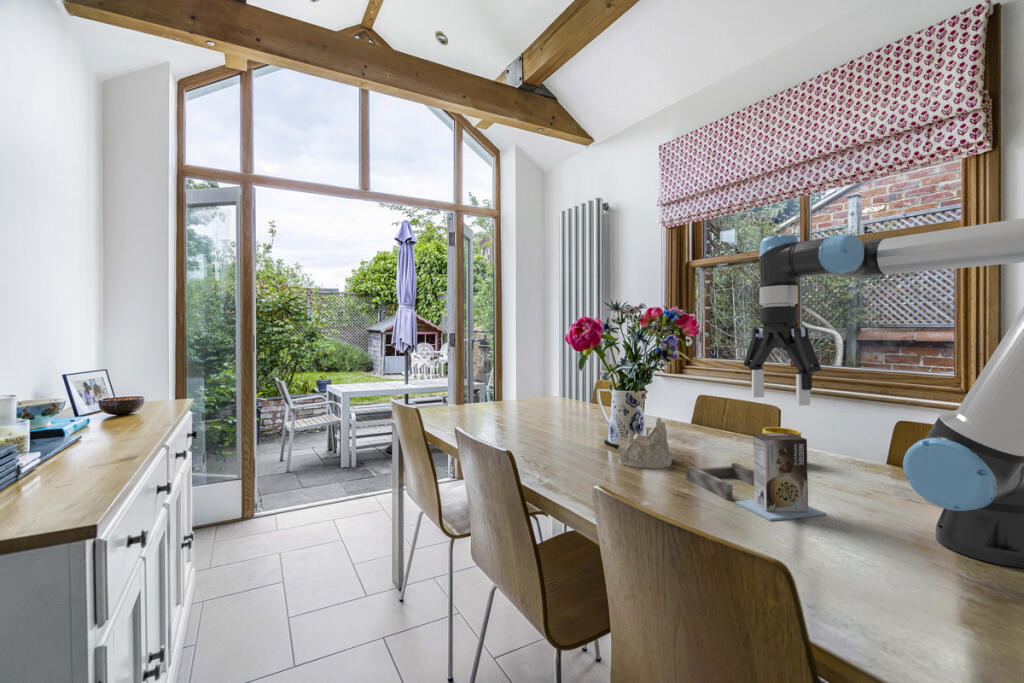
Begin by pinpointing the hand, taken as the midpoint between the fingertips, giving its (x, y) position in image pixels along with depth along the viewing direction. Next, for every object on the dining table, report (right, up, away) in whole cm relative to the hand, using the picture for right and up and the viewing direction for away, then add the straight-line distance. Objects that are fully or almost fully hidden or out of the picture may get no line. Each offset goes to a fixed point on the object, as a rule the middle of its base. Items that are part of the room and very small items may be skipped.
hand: (779, 401), depth 108 cm
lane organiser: (-3, -24, +16) cm, 29 cm away
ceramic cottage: (-18, -24, +42) cm, 52 cm away
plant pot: (+23, -24, +40) cm, 52 cm away
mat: (0, -24, 0) cm, 24 cm away
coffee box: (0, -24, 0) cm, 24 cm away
